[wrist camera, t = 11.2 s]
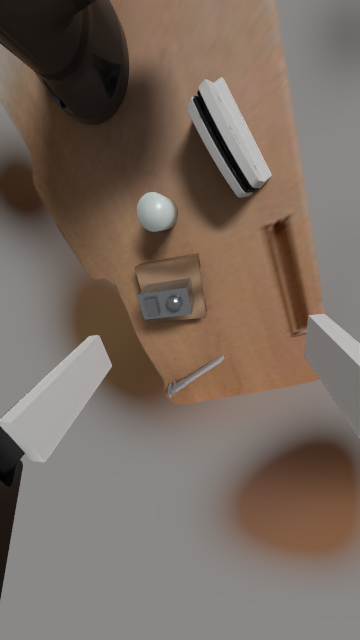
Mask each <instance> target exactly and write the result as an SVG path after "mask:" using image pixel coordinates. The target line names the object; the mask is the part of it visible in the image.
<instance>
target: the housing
mask: <svg viewBox="0 0 360 640" xmlns="http://www.w3.org/2000/svg"><path fill="white" fill-rule="evenodd" d="M137 297H138V300H139V304H140V307H141V310H142V314H143V317H144V320H146V319H155V318H164V317H173V316H183V315H192V311H193V307H194V302H195V300H194V294H193V288H192V282H191V278H186V279H179V280H173V281H166V282H160V283H153V284H147V285H146V286H145V287H144V288H143V289H142V290H141V291H140V292H139V293H138V294H137Z"/></svg>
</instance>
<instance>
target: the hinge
mask: <svg viewBox="0 0 360 640" xmlns="http://www.w3.org/2000/svg"><path fill="white" fill-rule="evenodd" d="M198 88H199V90H198V92H197V93H198V96H199V97H198V96H195V97H191V99H190V102H189V104H188V106H187V110H188V112H189V114H190V116H191V119H192V121H193V123H194V125H195V127H196V129H197V131H198V133H199V135H200V136H201V138H202V140H203V142H204V144H205V146H206V148H207V149H208V151H209V153H210V155H211V156H212V158H213V160H214V162H215V163H216V165H217V167H218V168H219V170H220V171H221V173H222V175H223V176H224V178H225V179H226V181H227V182H228V184H229V185H230V187H231V188H232V190H233V191H234V193H235V194H236V195H237V197H239V198H241V197H248V196H250V195H252V194H254V193H253V191H255V190H254V188H261V187H262V186H263V185H264V184H265V183H266V181H267V180H268V179H269V178H270V177H271V176H272V174H271V172H270V170H269V168H268V166H267V164H266V162H265V160H264V158H263V156H262V154H261V152H260V150H259V148H258V146H257V144H256V142H255V140H254V138H253V136H252V134H251V132H250V130H249V128H248V126H247V124H246V122H245V120H244V118H243V116H242V114H241V112H240V110H239V108H238V106H237V104H236V102H235V100H234V98H233V96H232V94H231V92H230V90H229V88H228V86H227V84H226V82H225V80H224V79H223V78H222V77H221V78H219V79H218V80H217V81H216V82H214V83H213V82H211V81H209V80H207V79H205V80H204V81H203V82H202V83H201V85H200V86H199V87H198Z"/></svg>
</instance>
